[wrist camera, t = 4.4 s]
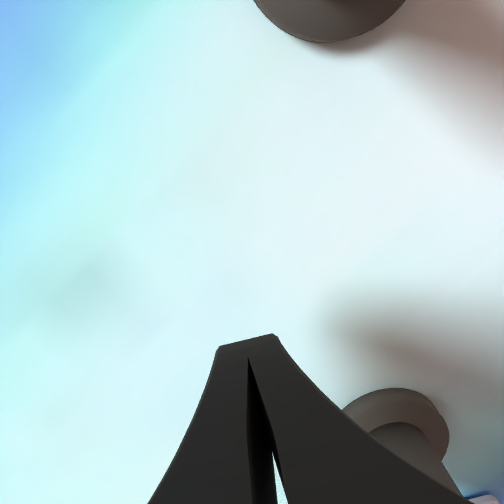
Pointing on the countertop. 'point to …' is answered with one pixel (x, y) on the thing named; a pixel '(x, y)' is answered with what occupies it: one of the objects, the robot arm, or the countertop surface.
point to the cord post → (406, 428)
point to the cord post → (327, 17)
